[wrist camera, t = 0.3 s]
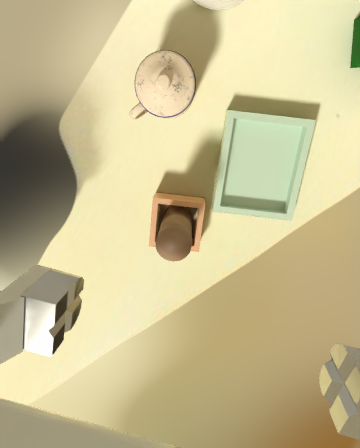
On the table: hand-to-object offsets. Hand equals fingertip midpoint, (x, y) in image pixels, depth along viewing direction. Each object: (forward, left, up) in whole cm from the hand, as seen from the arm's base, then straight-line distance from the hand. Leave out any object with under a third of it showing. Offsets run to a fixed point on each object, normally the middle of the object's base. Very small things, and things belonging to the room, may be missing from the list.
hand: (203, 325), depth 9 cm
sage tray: (-1, +12, -47) cm, 49 cm away
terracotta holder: (+11, -2, -47) cm, 49 cm away
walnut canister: (+11, -2, -47) cm, 49 cm away
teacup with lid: (-11, -7, -47) cm, 49 cm away
